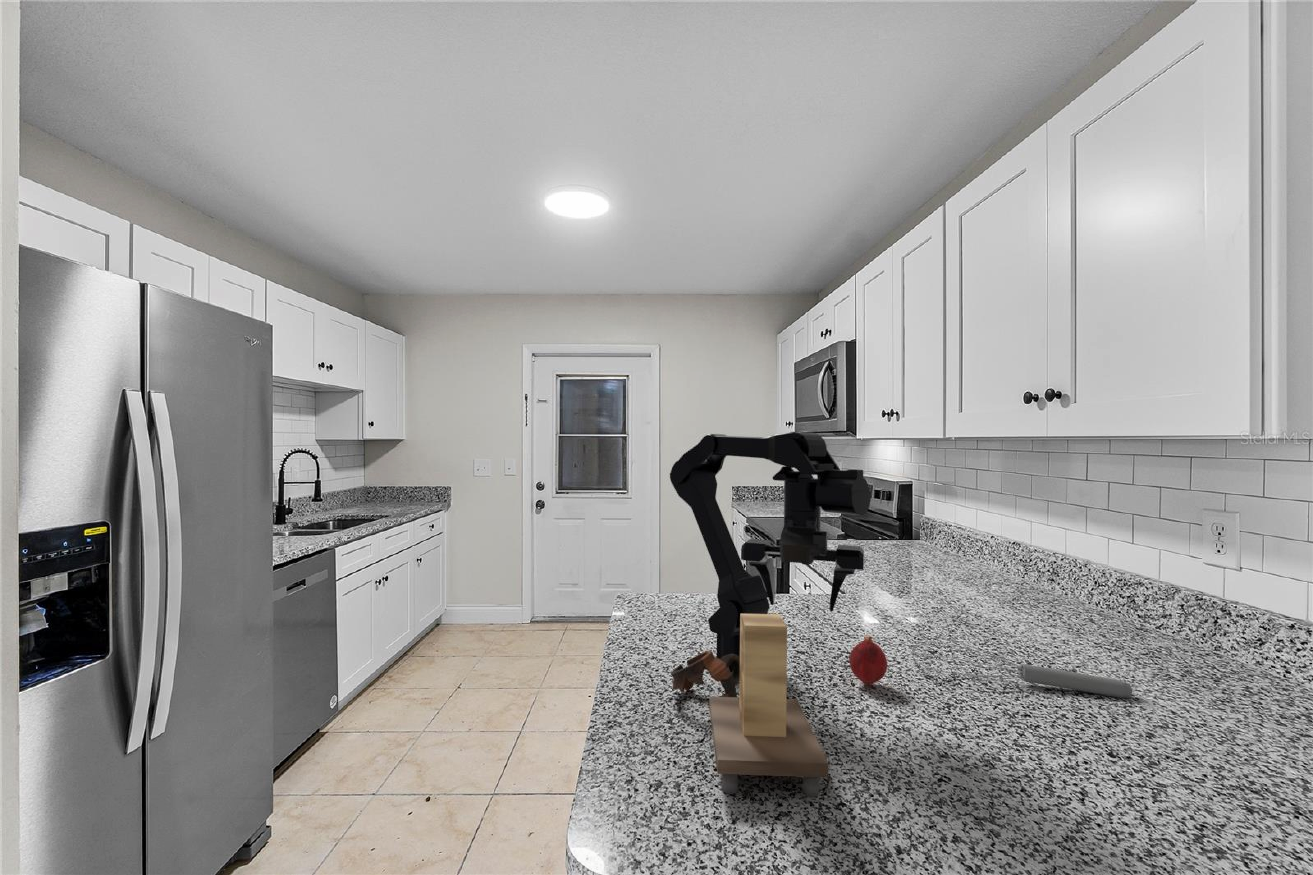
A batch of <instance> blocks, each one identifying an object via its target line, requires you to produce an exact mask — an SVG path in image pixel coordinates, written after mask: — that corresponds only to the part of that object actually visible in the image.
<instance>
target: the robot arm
mask: <svg viewBox="0 0 1313 875" xmlns="http://www.w3.org/2000/svg"><path fill="white" fill-rule="evenodd" d="M727 456H729V457H741V458H744V457H745V458H752V459H753V458H754V459H764V460H767V461H770V462H772V463H774V464H777V465H780V466H782V467H781V468H780V470H778V471H777V472H776V473H775V474H773V476H772V480H773V481H779V482H781V481H782V482H784V483H783V484H784V486H783V487H784V488H783V490H784V491H783V527H782V530H781V534H780V539H779V545H774V544H773V545H772V543H771V539H756V538H750V539H748V540H746V541H745V542H744V543H743V544H742V545H741V548H740V549H741V550H740V555H739V552H738V550H737V548H736V545H735V543H734V540H733V538H732V535H731V533H730V530H729V529H728V526H727V523H726V521H725V518H724V516H723V514H722V511H721V509H720V506H719V504H718V502H717V499H716V497H717V490H718V489H717V488H718V482H717V478H716V476H717V475H718V474H719V472H720V471H722V469H723V465H724V462H725V459H726V457H727ZM794 469H795V470H794ZM814 475H815V476H817V478H815V477H814ZM669 480H670V483H671V485H672V486H673V488H674V491H675V492H676V494H677V495H678V497H679V498H680V499H681V500H683V502H685V503H686V504H687V505H688V506H689V507H690V508H691V511H692V514H693V516H694V519H695V521H696V523H697V526H698V528H699V531H700V533H701V537H702V540H703V541H704V545H705V547H706V550H707V552H708V555H709V556H710V559H711V562H712V565H713V567H714V570H715V572H716V576H717V579H718V587H717V592H716V593H717V594H716V598H717V601H718V606H719V608H718V609H717V610H716V611H715V612H714V613H712V615H711V616H710V617H709V618H708V619H707V622H708V625H709V630H710V632H712V633H714V634H716V658H718V659H720V658H722V657H724V656H726V655H728V654H735V655H737V656H738V657H739V658H740V614H769V610H770V605H771V606H774V604H775V598H776V597H775V596H776V591H775V576H774V572H775V571H774V562H773V561H774V560H773V558H779V559H780V562H782V563H784V564H790V563H797V564H798V563H799V564H802V565H805V566H808V565H812V564H813V563H814V561H821V562H833V563H835V567H834V569H833V576H832V577H833V579H832V585H831V591H830V599H829V611H830V612H833V611H834V609H835V606H836V601H837V600H838V596H839V594H840V590H841V588H842V586H843V583H844V581H845V579H846V578H847V576H849V575H855V572H856V571H857V570H858V571H860V570H861V571H863V570H864V568H865V550H864V549H863V547H862V546H859V545H848V544H847V545H845V544H837V547H836V549H828V533H827V531H821V519H822V518H821V517H822V515H821V511H823V512H825V513H830V514H831V513H832V514H839V515H840V514H843V515H852V516H864V515H865V514H866V513H867V512H868V510H869V507H870V505H871V500H872V499H871V498H872V492H871V490H870V487H869V483H868V481H867V479H866V478H865V477H864V469H845V470H843V469H840V468H839V465H838V464H837V463H836V461H835V459H834V458H833V457H832V455H831V454H830V453H829V451H828V449H827V443H826V441H825V440H824V438H823V436H822V435H821V434H819V433H815V432H804V431H788V432H781V433H776V434H773V435H770V436H765V437H762V436H761V437H760V436H741V435H737V436H736V435H735V436H734V435H726V434H724V433H723V434H720V433H718V434H717V433H708V434H707V435H705V436H703V437H702V439H700V441H699V442H698V443H697V444H696V445H695V446H693V447H691V448H690V449H689V450H688V451H686V452H684V453H683V454H682V455H681V456H680V458H679V459H678V460H677V461H675V462H674V463H673V465H672V467H671V470H670V472H669ZM821 509H822V510H821ZM742 561H745V562H746V561H747V562H748V561H749V562H748V563H749V566H750V567H754V568H755V569H756V570H757V572H758V573H759V575H758V574H757V575H753V576H752V575H751V574H750V573H749V572H747V570H746V569H745V567H744V565H743V562H742ZM729 671H730V672H731V671H732V672H733V665H732V663H730V665H729Z"/></svg>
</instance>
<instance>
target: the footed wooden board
mask: <svg viewBox="0 0 1313 875" xmlns="http://www.w3.org/2000/svg"><path fill="white" fill-rule="evenodd" d="M708 698H709V700H708V704H709V705H708V709H709V717H710V724H711V733H712V734H711V735H712V740H713V742H712V743H713V748H714V754H715V755H714V756H715V765H716V772H717V774H719V775H720V774H721V791H722V792H723V793H725V794H728V795H734V794H737V792H739V775H740V776H741V775H744V776H746V775H748V776H769V777H770V776H774V777H776V776H777V777H797V778H798V777H800V778H802V793H803V794H804V795H806V796H807V797H810V798H817V797H818V796H820V781H821V780H820V779H821V778H827V779H828V778H829V762H828V760H827V758H826V755H825V754H824V751H823V750H822V748H821V746H820V743H819V742H818V739H817V737H816V735H815V733H814V730H813V729H812V727H811V724H810V723H809V720H808V719H807V717H806V715H805V712H804V711H803V709H802V706H801V704H800V702H799V700H798V699H797V698H795V699H794V698H786V737H770V736H744V734H743V730H742V726H741V721H740V717H739V696H737V697H721V696H709V697H708Z"/></svg>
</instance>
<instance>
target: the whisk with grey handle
mask: <svg viewBox="0 0 1313 875" xmlns="http://www.w3.org/2000/svg"><path fill="white" fill-rule="evenodd" d="M935 639H936V640H942V641H948V642H953V643H955V644H956V643H957V644H960V645H964V646H967V647H964V646H960V645H955V644H952V643H945V642H940V645H939V642H937V641H936V642H935V641H932V642H931V641H930V642H924V643H920V644H918V643H919V642H921V641H925V640H935ZM933 644H934V646H937V647H943V648H947V649H952V650H955V651H956V650H957V651H961V652H964V653H968V654H970V655H971V654H972V655H975V656H977V657H982V658H986V659H988V660H991V661H993V662H998V663H1001V664H1003V665H1007V666H1009V667H1013V668H1015V669H1013V668H1007V667H1003V666H997V665H993V664H987V663H982V662H977V661H972V660H967V659H966V660H965V659H961V658H954V657H949V656H945V655H938V654H937V655H936V654H930V653H924V652H915V651H916V649H917V648H918V647H920V646H933ZM942 644H943V645H942ZM945 645H949V646H954V648H953V647H949V646H945ZM955 647H957V648H955ZM968 647H969V648H968ZM911 648H912V649H911V652H910V654H911V657H912V659H913V664H915V666H916V668H918V670H920V671H922V672H923V673H924V674H926V675H928V676H931V677H934V678H937V676H936V675H932V674H930V673H927V672H926V671H929V672H932V673H935V672H936V671H937V672H941V673H947V674H954V675H961V676H969V677H972V678H994V679H978V680H976V679H975V680H973V679H972V680H966V681H969V682H987V681H988V682H990V681H991V682H992V681H1001V680H1011V679H1017V678H1018V679H1019V678H1020V680H1021V681H1022V682H1028V683H1032V684H1038V685H1045V686H1050V687H1055V688H1060V689H1067V690H1073V691H1079V692H1084V693H1090V694H1097V695H1100V696H1101V695H1103V696H1108V697H1113V698H1119V699H1125V698H1126V699H1131V697H1132V696H1133V689H1132V685H1133V686H1136V687H1138V688H1140V689H1142V690H1143V694H1142V695H1139V696H1138V695H1137V696H1135V698H1141V697H1144V696H1145V695H1146V690H1145V688H1144V687H1142V686H1140V685H1137V684H1135V683H1131V682H1126V681H1122V679H1115V678H1109V677H1102V676H1098V675H1097V676H1096V675H1091V674H1085V673H1079V672H1074V671H1067V670H1063V669H1055V668H1051V667H1050V668H1048V667H1044V666H1038V665H1032V664H1025V663H1021V664H1020V665H1018V664H1016V663H1013V662H1012V661H1009V660H1007V659H1005V658H1002V657H1000V656H997V655H995V654H993V653H991V652H988V651H986V650H983V649H980V648H977V647H974V646H971V645H968V644H966V643H962V642H959V641H955V640H951V639H947V638H940V637H926V638H922V639H919V640H918V641H917V642H916V643H915V644H914V645H913V646H912V647H911ZM958 648H963V649H966V650H963V649H958ZM972 648H973V649H972ZM975 649H976V650H975ZM967 650H968V651H967ZM978 650H979V651H978ZM969 651H972V652H969ZM981 651H982V652H981ZM974 652H975V653H974ZM983 652H984V653H983ZM977 653H979V654H977ZM919 654H920V655H919ZM981 654H982V655H981ZM924 655H925V656H924ZM926 655H927V656H926ZM983 655H984V656H983ZM915 656H916V657H919V658H925V659H929V660H936V661H942V662H947V663H948V662H949V663H955V664H960V665H967V666H975V667H980V668H985V669H992V670H999V671H1005V672H1011V673H1012V672H1013V673H1018V674H1014V675H1013V674H1011V675H1010V674H1009V675H996V674H995V675H992V674H991V675H988V674H987V675H986V674H985V675H984V674H967V673H957V672H949V671H945V670H944V671H943V670H939V669H935V668H933V667H928V666H926V665H924V664H923V663H920V662H919V661H918V660H917V659H916V658H915ZM928 656H934V657H940V658H945V659H952V660H956V661H950V660H945V659H939V658H934V657H933V658H932V657H928ZM986 656H988V657H986ZM993 658H994V659H993ZM957 660H958V661H963V662H969V663H974V664H969V663H963V662H957ZM975 664H976V665H975ZM977 664H979V665H977ZM982 665H985V666H982ZM919 667H920V668H919ZM921 668H922V669H923V670H922V669H921ZM924 670H925V671H924ZM998 677H999V678H998ZM995 678H996V679H995Z"/></svg>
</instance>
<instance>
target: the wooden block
mask: <svg viewBox="0 0 1313 875" xmlns="http://www.w3.org/2000/svg"><path fill="white" fill-rule="evenodd" d="M787 664H788V626H787V624H786V623H785V621H784V619H783V618H782V616H781V614H774V613H770V614H769V613H768V614H740V680H739V693H738V695H739V696H738V698H739V717H740V721H741V726H742V730H743V734H744V736H770V737H786V699H787V686H788V685H787V684H788V682H787V681H788V680H787V675H788V674H787V673H788V667H787V666H788V665H787Z"/></svg>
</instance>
